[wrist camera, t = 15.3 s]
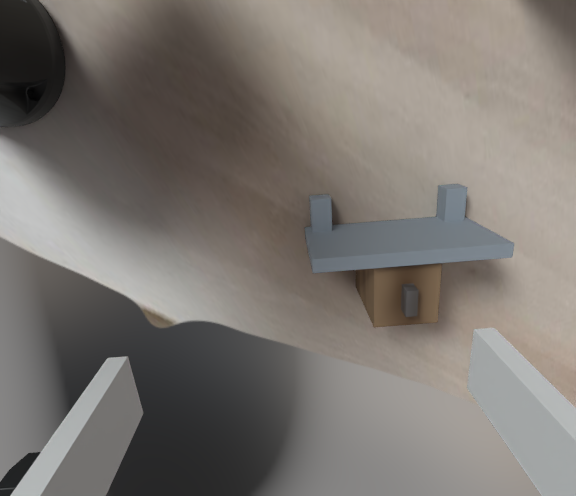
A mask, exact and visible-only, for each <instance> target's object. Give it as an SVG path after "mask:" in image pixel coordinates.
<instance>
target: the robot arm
mask: <svg viewBox="0 0 576 496" xmlns="http://www.w3.org/2000/svg"><path fill="white" fill-rule="evenodd" d="M64 77H65V58H64V52H63V47H62V43H61V40H60V37H59V34H58V32H57V30H56V27H55V25H54V23H53V21H52V20H51V18H50V16H49V15H48V13H47V12H46V10H45V9H44V7H43V6H42V5H41V3H40V2H39V1H38V0H0V127H8V126H21V125H25V124H29V123H31V122H34V121H36V120H38V119H39V118H41V117H42V116H44V115H45V114H46V113H47V112H48V111H49V110H50V109H51V108H52V107H53V106H54V104H55V103H56V101H57V99H58V97H59V95H60V93H61V90H62V87H63V83H64ZM467 389H468V390H469V392H470V393H471V395H472V396H473V397H474V399H475V400H476V402H477V403H478V405H479V406H480V408H481V409H482V410H483V412H484V413H485V415H486V416H487V418H488V419H489V421H490V422H491V423H492V425H493V426H494V428H495V429H496V431H497V432H498V434H499V435H500V437H501V438H502V439H503V441H504V442H505V444H506V445H507V447H508V448H509V450H510V451H511V452H512V454H513V455H514V457H515V458H516V460H517V461H518V462H519V464H520V466H521V467H522V468H523V470H524V471H525V473H526V474H527V476H528V477H529V479H530V480H531V481H532V483H533V484H534V486H535V487H536V489H537V490H538V491H539V493H540V494H541V496H576V408H575V407H574V406H573V405H572V404H571V403H570V402H569V401H568V400H567V399H566V398H565V397H564V396H563V395H562V394H561V393H560V392H559V391H558V390H557V389H556V388H555V387H554V386H553V385H552V384H551V383H550V382H549V381H548V380H547V379H546V378H545V377H544V376H543V375H542V374H541V373H540V372H539V371H538V370H537V369H536V368H535V367H533V366H532V365H531V364H530V363H529V362H528V361H527V360H526V359H525V358H524V357H523V356H522V355H521V354H520V353H519V352H518V351H517V350H516V349H515V348H514V347H513V346H512V345H511V344H510V343H509V342H508V341H507V340H506V339H505V338H504V337H503V336H502V335H501V334H500V333H499V332H498V331H497V330H496V329H495V328H485V329H474V333H473V341H472V350H471V358H470V367H469V375H468V384H467ZM142 415H143V410H142V407H141V403H140V399H139V396H138V392H137V389H136V385H135V381H134V378H133V374H132V370H131V367H130V363H129V359H128V357H115V358H107V360H106V361H105V363H104V364H103V365H102V367H101V368H100V370H99V371H98V373H97V374H96V375H95V377H94V378H93V380H92V381H91V383H90V384H89V385H88V387H87V388H86V389H85V391H84V392H83V394H82V395H81V397H80V398H79V399H78V401H77V402H76V404H75V405H74V406H73V408H72V409H71V411H70V412H69V413H68V415H67V416H66V418H65V419H64V420H63V422H62V423H61V425H60V426H59V428H58V429H57V430H56V432H55V433H54V435H53V436H52V437H51V439H50V440H49V442H48V443H47V445H46V446H45V447H44V449H43V450H42V452H38V453H28V454H27V455H26V456H25V457H24V458H23V459H21V460H20V461H19V462H18V463H17V464H16V465H14V466H13V467H12V468H11V469H10V470H9V471H8V473H7V474H6V475H5V476H4V478H3V479H2V481H1V482H0V496H106V494H107V492H108V489H109V487H110V484H111V483H112V481H113V478H114V476H115V474H116V472H117V470H118V467H119V465H120V463H121V461H122V459H123V457H124V454H125V452H126V450H127V448H128V445H129V443H130V441H131V439H132V437H133V435H134V432H135V430H136V428H137V426H138V424H139V421H140V419H141V417H142Z"/></svg>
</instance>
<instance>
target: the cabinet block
mask: <svg viewBox="0 0 576 496" xmlns="http://www.w3.org/2000/svg"><path fill="white" fill-rule="evenodd" d="M441 270H442V263H436V264H423V265H411V266H398V267H385V268H373V269H360V270H356V288H357V291H358V293H359V295H360V297H361V300H362V302H363V304H364V306H365V308H366V311H367V313H368V315H369V317H370V320H371V322H372V324H373V326H374V327H385V326H398V325H410V324H423V323H436V322H438V309H439V296H440V283H441Z"/></svg>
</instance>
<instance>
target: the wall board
mask: <svg viewBox="0 0 576 496" xmlns="http://www.w3.org/2000/svg"><path fill="white" fill-rule="evenodd" d="M466 197H467V187H465V186H462V185H460V184H449V185H438V199H437V214H436V217H426V218H414V219H401V220H389V221H376V222H364V223H351V224H339V225H332V208H331V197H330V196H329V194H325V195H312V196H309V202H310V220H311V227H305V239H306V244H307V248H308V253H309V258H310V262H311V267H312V272H313V273H322V272H335V271H348V270H360V269H373V268H385V267H398V266H411V265H423V264H436V263H448V262H461V261H474V260H486V259H499V258H511V257H512V256H513V249H514V243H513V242H511V241H509V240H507V239H505V238H504V237H502V236H500V235H498V234H496V233H494V232H493V231H491V230H489V229H487V228H485V227H483V226H481V225H480V224H478V223H476V222H474V221H472V220H470V219H469V218H467V217H465V207H466Z"/></svg>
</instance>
